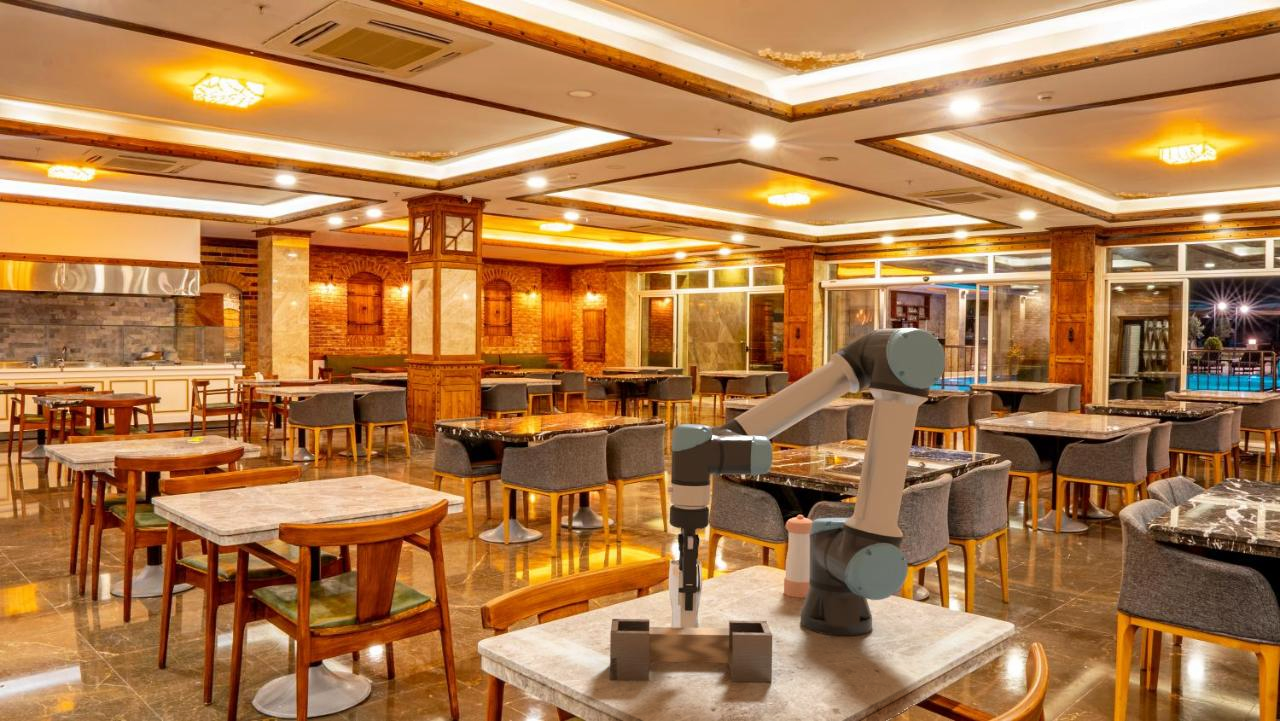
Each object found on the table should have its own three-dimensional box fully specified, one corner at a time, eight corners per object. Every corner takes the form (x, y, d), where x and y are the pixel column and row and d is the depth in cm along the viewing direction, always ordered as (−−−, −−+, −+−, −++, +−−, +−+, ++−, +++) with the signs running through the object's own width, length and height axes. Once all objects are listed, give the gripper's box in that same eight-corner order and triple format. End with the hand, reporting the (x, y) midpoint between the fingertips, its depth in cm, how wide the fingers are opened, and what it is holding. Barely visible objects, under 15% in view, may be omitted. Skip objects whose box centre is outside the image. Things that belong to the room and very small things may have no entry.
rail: (743, 656, 170) (744, 628, 170) (746, 664, 166) (746, 635, 166) (630, 654, 171) (631, 626, 170) (630, 662, 167) (630, 633, 166)
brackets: (765, 665, 165) (766, 620, 165) (771, 682, 157) (772, 635, 157) (611, 663, 165) (612, 618, 165) (610, 679, 157) (610, 633, 157)
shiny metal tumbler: (699, 640, 178) (700, 567, 178) (665, 637, 180) (666, 565, 179) (703, 629, 185) (704, 558, 185) (671, 626, 187) (671, 557, 186)
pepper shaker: (783, 597, 209) (785, 517, 209) (783, 588, 216) (785, 511, 216) (814, 598, 208) (816, 518, 208) (813, 590, 215) (815, 512, 215)
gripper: (668, 493, 180) (665, 595, 181) (671, 517, 155) (668, 636, 156) (704, 494, 180) (701, 597, 181) (714, 519, 155) (710, 637, 156)
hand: (686, 615), depth 168 cm, fingers open, 13 cm apart
